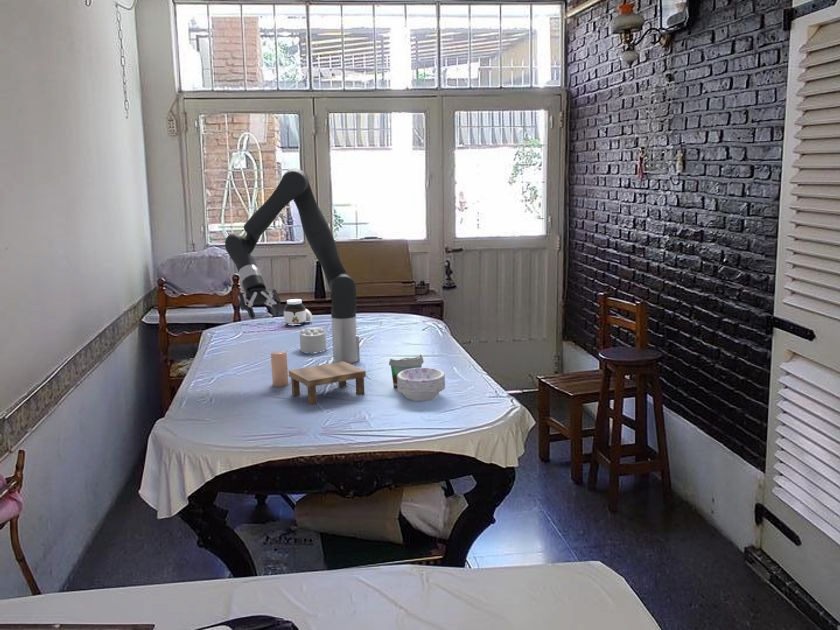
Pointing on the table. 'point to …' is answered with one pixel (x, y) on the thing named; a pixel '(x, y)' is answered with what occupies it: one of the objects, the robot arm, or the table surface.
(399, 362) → the food container
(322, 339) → the lumpy-topped squat cylinder
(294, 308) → the spread jar
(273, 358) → the peach rounded cylinder
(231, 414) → the table surface
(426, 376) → the paper bowls
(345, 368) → the footstool
